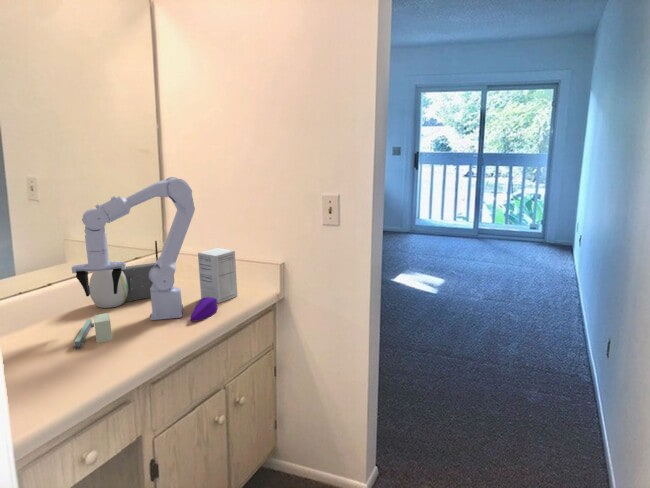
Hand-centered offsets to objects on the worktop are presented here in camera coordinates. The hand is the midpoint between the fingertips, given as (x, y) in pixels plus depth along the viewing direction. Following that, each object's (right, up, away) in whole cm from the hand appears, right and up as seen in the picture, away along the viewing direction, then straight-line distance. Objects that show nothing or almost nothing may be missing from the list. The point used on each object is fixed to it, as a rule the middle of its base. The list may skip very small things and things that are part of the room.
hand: (102, 294), depth 153 cm
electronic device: (+2, -4, +28) cm, 28 cm away
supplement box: (+29, -4, +28) cm, 41 cm away
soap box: (+4, -12, -7) cm, 14 cm away
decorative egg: (-7, -6, +22) cm, 24 cm away
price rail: (-2, -12, -7) cm, 14 cm away
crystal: (+28, -8, +9) cm, 31 cm away
